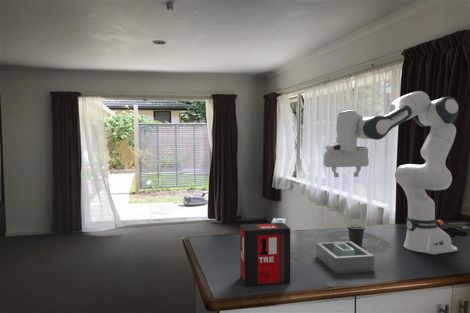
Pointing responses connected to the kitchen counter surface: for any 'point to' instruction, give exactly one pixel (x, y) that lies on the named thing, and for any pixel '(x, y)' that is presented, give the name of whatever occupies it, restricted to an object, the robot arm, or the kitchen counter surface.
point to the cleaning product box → (264, 254)
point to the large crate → (345, 258)
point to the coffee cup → (356, 234)
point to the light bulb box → (279, 220)
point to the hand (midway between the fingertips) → (346, 176)
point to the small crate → (343, 250)
